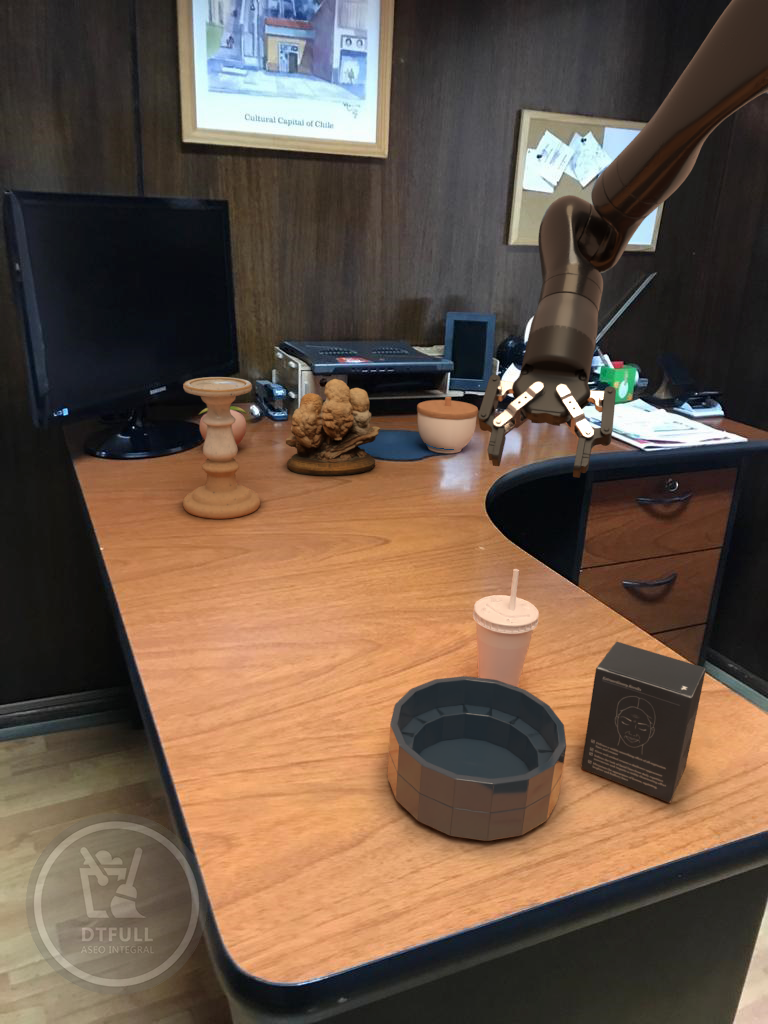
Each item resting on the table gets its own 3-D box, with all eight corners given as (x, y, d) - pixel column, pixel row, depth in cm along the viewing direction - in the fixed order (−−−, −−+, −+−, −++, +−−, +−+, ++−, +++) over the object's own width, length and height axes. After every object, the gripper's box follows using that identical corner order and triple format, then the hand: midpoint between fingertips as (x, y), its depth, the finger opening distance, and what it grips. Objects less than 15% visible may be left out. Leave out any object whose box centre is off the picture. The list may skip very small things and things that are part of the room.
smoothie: (515, 720, 74) (531, 589, 70) (455, 699, 77) (466, 572, 72) (537, 688, 80) (553, 565, 75) (480, 669, 83) (492, 549, 78)
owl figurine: (370, 456, 156) (373, 371, 150) (386, 473, 146) (391, 384, 140) (281, 459, 151) (281, 372, 145) (292, 478, 141) (292, 385, 135)
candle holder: (210, 489, 133) (205, 372, 126) (273, 500, 129) (272, 380, 122) (167, 511, 122) (159, 385, 115) (235, 524, 118) (231, 394, 111)
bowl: (551, 742, 72) (559, 686, 69) (562, 858, 58) (572, 794, 56) (399, 723, 73) (402, 668, 71) (376, 832, 60) (379, 768, 58)
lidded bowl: (466, 440, 170) (470, 391, 166) (481, 457, 159) (485, 404, 155) (410, 440, 169) (413, 390, 165) (420, 457, 157) (423, 403, 153)
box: (685, 769, 69) (708, 666, 65) (669, 806, 64) (693, 697, 60) (599, 737, 73) (615, 638, 69) (578, 769, 68) (595, 665, 64)
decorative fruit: (209, 459, 149) (207, 408, 146) (195, 448, 156) (193, 399, 152) (254, 454, 154) (254, 405, 150) (240, 443, 160) (239, 396, 157)
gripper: (496, 317, 86) (466, 441, 80) (628, 328, 82) (607, 459, 76) (500, 358, 93) (472, 476, 87) (622, 370, 89) (602, 494, 83)
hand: (535, 468), depth 82 cm, fingers open, 8 cm apart
